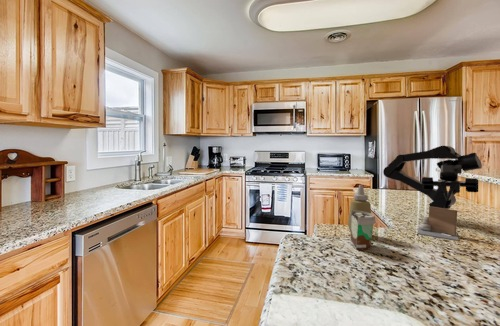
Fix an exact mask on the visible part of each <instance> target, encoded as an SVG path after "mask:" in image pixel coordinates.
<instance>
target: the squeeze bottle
mask: <svg viewBox="0 0 500 326" xmlns="http://www.w3.org/2000/svg"><path fill="white" fill-rule="evenodd" d="M368 198H369V196H368V195H367V194H365V190H364V185H363V184H359V185H358V190H357V192H356V194H353V200H350V206H349V211H348V218H347V227H348V230H349V232H350V234H351V210H356V211H363V212H367V213H371V214H372V208H371V202H370V201H368V200H369V199H368Z"/></svg>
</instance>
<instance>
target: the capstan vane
mask: <svg viewBox="0 0 500 326" xmlns="http://www.w3.org/2000/svg"><path fill="white" fill-rule="evenodd" d="M457 223H458V210H457V209H456V210H455V209H452V208H450V209H445V208H439V207H432V206H429V207H428V217H427V216H424V217H423V222H419V226H420V229H423V230H434V231H438V232H443V233H447V234H452V235H456V233H457V226H458V224H457Z"/></svg>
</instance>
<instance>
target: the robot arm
mask: <svg viewBox="0 0 500 326" xmlns="http://www.w3.org/2000/svg"><path fill="white" fill-rule="evenodd" d="M430 159H432V160H433V159H436V160H440V161H438V162H436V166H437V167H438V168H439V169H440V173H439V179H437V180H434V177H430V176H429V177H427V176H425V177H423V176H422V177H421V181H420V180H418V179H416V178H414V177H411V176H410V175H408V174H407V173H405V172H404V171H403V169H404V167H405V165H406V163H407V162H417V161H424V160H430ZM441 159H442V160H441ZM479 169H483V163H482V160H481V159H480V157H479V156H478V155H477V153H476V152H472V153H471V152H470V153H468V154H464V155H461V154H459V153H458V152H456V149H455V148H454V147H452V146H451V145H450V146H448V145H440V146H437V147H434V148H431V149H429V150H423V151H418V152H411V153H410V152H409V153H404V154H398V155H397V156H396V157H395V158H394V159H393V160H392V161H391V162H390V163H389V164H388V165H387V166H386V167H384V169H383V170H382V173H383V176H384V177H386V178H388V179H391V180H394V181H398V182H401V183H403V184H404V185H407V186H409V187H410V188H412V189H414V190H416V191H418V192H419V193H421V194H423V195H425V196H427V197H429V199H430V200H431V202H430V203H429V204H428V205H429V207H430V206H432V207H439V208H445V209H451V207H452V206H453V205H455V204H456V202H457V198H456V196H455V195H456V194H458V193H461V188H462V187H463V188H464V187H465V191H466V192H467V193H478V192H479V179H477V178H475V177H473V178H469V177H466V178H465V180H464V181H463V180H460V181H459V180H458V179H459V175H461V174H462V171H463V172H469V171H474V170H479ZM434 187H437V188H434ZM448 188H449V189H448Z"/></svg>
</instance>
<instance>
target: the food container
mask: <svg viewBox="0 0 500 326" xmlns="http://www.w3.org/2000/svg"><path fill="white" fill-rule="evenodd" d="M375 224H376V217H375V215H374V214H373V213H372V212H371V213H367V212H363V211H356V210H351V233H350V242H351V243H352V245H353V247H354V249H355V250H356V251H367V250H371V246H372V238H373V237H372V236H373V229H374V225H375Z"/></svg>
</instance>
